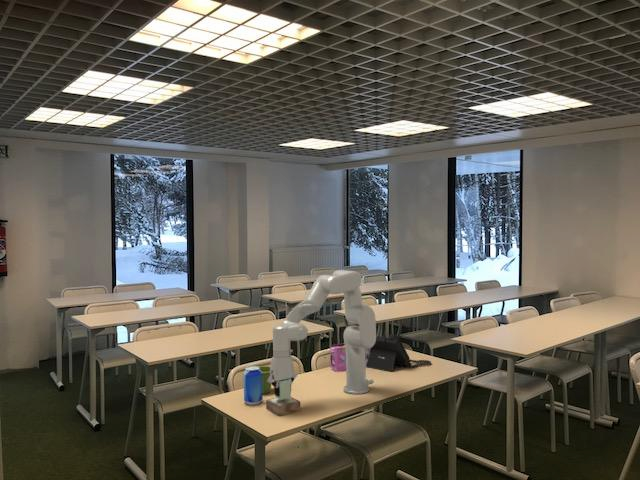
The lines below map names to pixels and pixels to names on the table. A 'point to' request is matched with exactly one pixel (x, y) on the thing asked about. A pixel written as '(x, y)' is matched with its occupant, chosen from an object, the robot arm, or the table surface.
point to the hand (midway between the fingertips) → (282, 394)
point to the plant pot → (265, 379)
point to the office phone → (390, 354)
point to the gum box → (341, 357)
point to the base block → (282, 406)
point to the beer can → (253, 385)
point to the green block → (284, 389)
